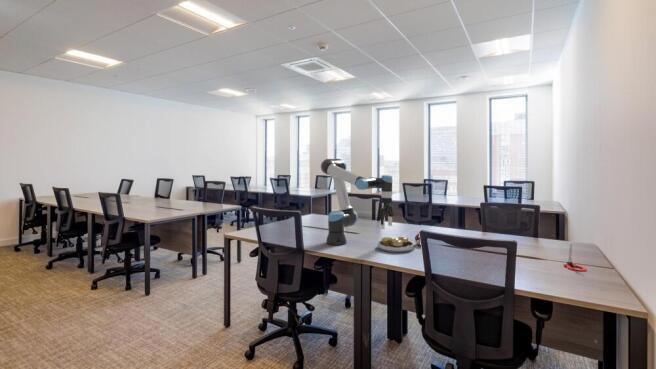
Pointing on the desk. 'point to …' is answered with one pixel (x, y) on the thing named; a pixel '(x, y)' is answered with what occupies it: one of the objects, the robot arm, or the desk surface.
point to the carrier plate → (397, 245)
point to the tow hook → (570, 263)
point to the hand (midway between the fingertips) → (386, 227)
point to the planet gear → (387, 241)
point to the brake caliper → (417, 239)
